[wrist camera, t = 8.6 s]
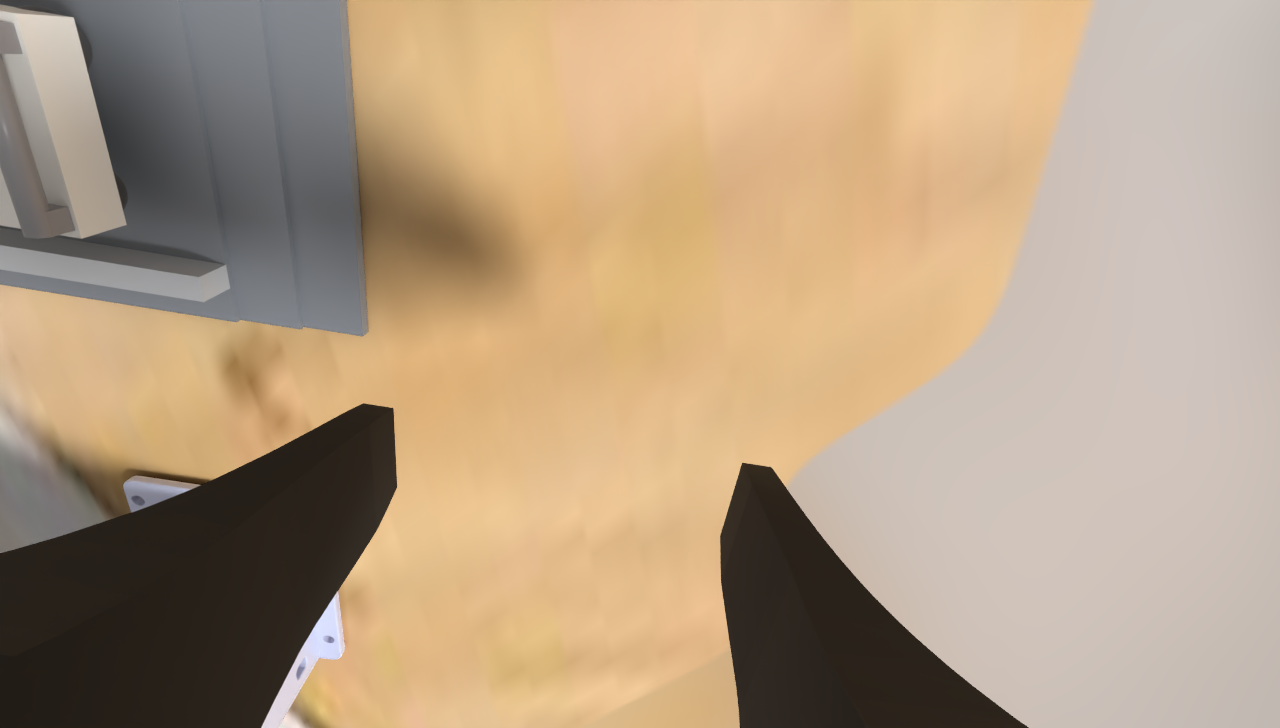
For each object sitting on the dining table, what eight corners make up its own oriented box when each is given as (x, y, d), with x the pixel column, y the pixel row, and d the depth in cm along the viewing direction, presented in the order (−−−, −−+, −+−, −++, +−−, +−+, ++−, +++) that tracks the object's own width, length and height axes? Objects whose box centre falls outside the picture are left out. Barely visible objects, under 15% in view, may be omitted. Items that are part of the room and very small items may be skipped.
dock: (368, 331, 20) (332, 363, 18) (-109, 255, 20) (-203, 278, 18) (340, -99, 15) (284, -126, 13) (-326, -222, 14) (-502, -272, 12)
